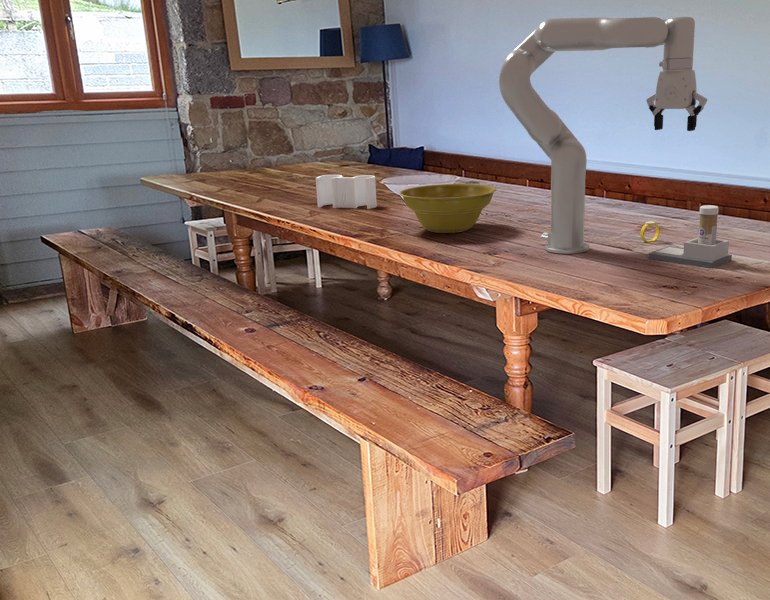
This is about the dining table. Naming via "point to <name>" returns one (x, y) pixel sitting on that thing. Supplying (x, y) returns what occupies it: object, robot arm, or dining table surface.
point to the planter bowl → (448, 205)
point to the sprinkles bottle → (708, 224)
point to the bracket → (346, 191)
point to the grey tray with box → (695, 254)
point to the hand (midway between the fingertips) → (674, 130)
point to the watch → (645, 228)
